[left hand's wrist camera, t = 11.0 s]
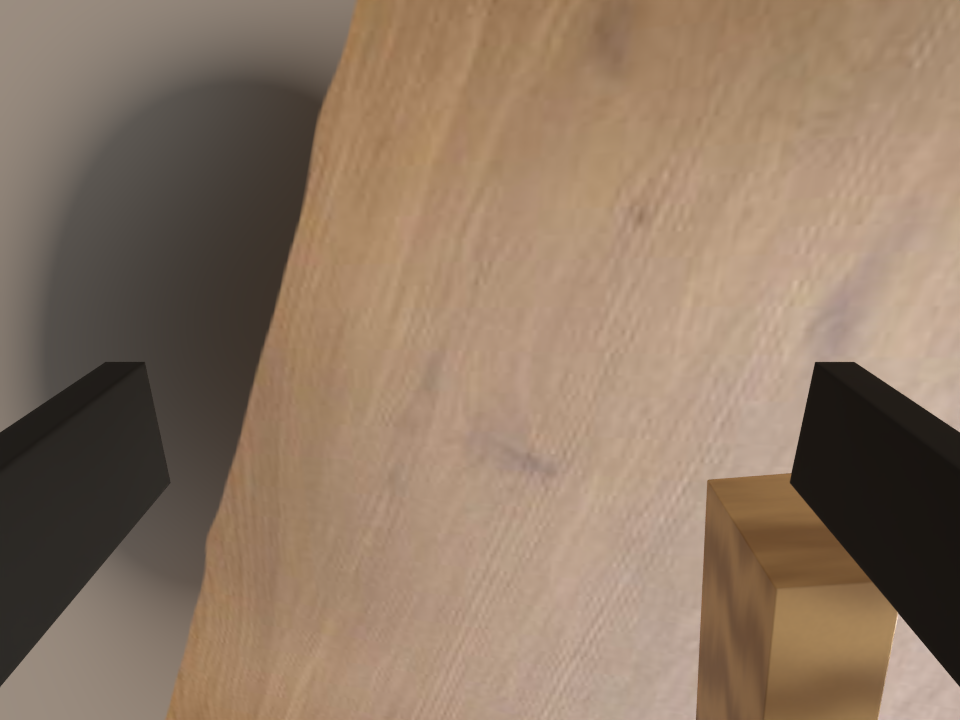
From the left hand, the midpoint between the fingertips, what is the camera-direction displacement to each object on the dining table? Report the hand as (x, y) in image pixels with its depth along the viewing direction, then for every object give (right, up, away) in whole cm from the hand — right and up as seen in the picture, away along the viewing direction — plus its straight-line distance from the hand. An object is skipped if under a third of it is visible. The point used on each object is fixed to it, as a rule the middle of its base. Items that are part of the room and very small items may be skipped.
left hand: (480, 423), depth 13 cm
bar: (+16, -15, +25) cm, 33 cm away
